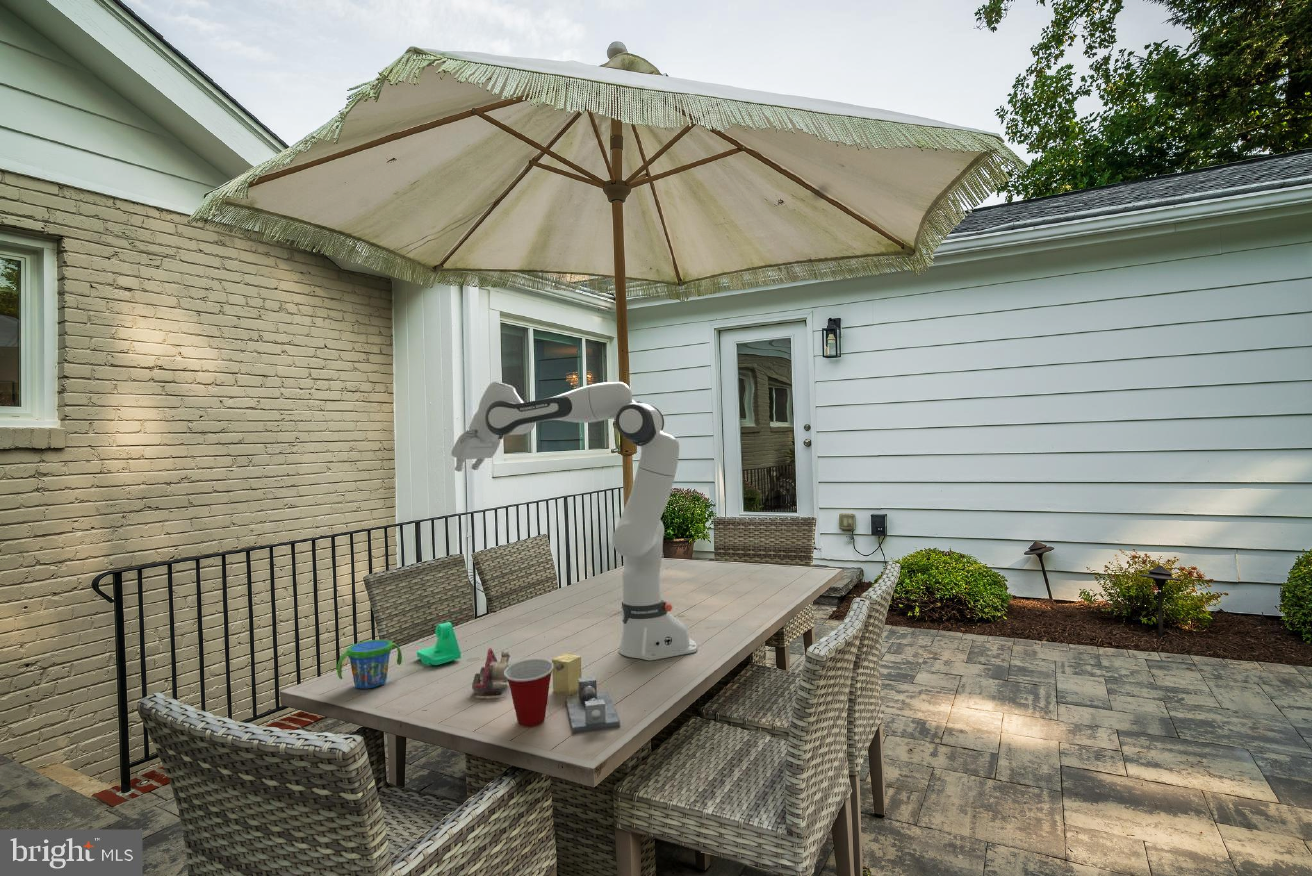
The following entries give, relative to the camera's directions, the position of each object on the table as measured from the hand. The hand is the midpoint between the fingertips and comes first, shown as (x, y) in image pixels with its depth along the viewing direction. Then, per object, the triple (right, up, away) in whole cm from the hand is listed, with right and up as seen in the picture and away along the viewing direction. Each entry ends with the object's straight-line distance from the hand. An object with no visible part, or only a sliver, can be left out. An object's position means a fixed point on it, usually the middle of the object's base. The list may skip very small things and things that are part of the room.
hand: (466, 470), depth 198 cm
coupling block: (+38, -52, -42) cm, 77 cm away
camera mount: (-3, -54, -17) cm, 57 cm away
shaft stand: (+45, -52, -56) cm, 89 cm away
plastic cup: (+32, -52, -59) cm, 85 cm away
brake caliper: (+19, -53, -40) cm, 69 cm away
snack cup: (-15, -54, -34) cm, 65 cm away
